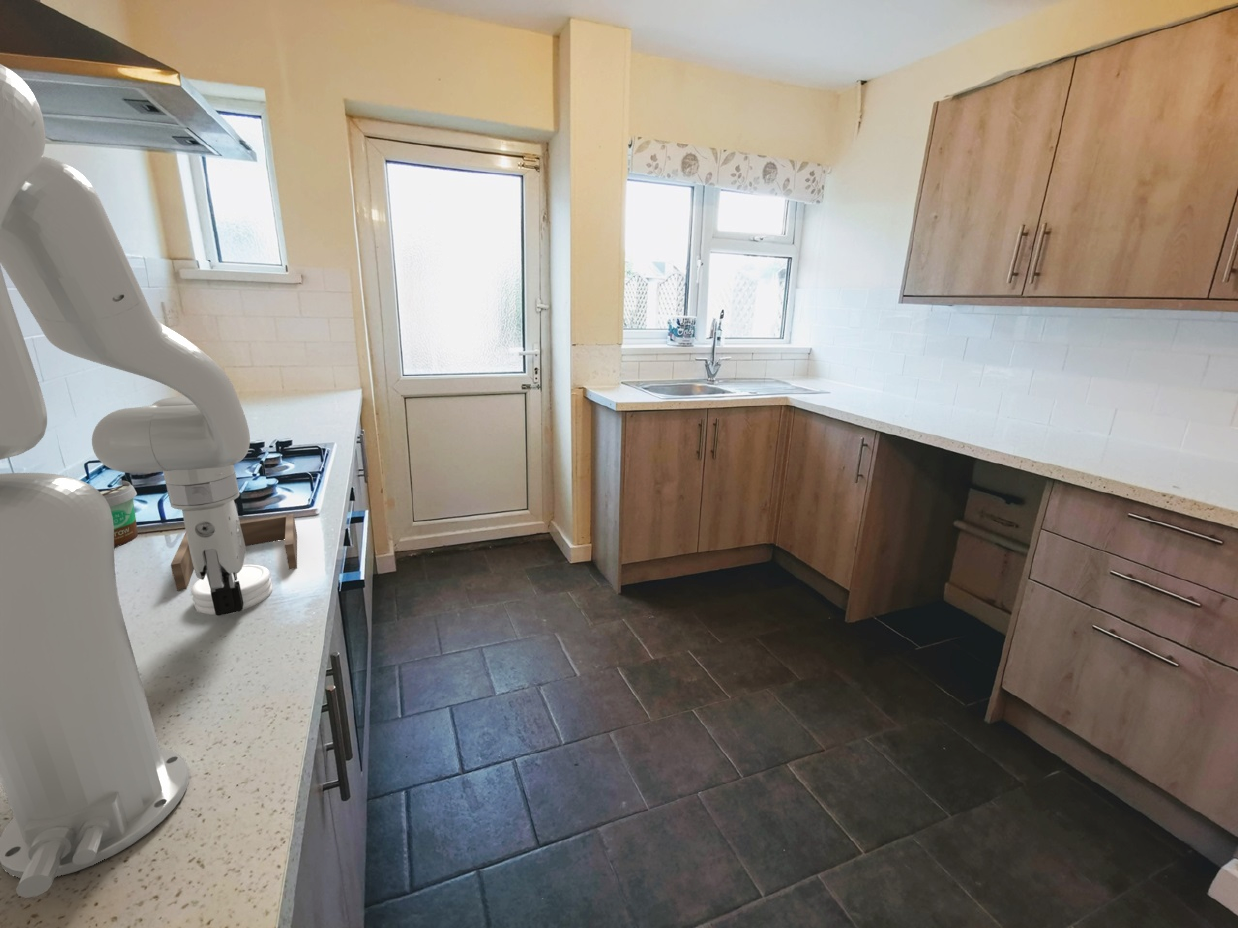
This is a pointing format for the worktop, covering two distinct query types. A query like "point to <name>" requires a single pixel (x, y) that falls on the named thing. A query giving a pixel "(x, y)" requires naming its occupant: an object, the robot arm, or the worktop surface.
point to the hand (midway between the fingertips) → (230, 610)
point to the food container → (122, 512)
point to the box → (253, 535)
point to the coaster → (251, 584)
